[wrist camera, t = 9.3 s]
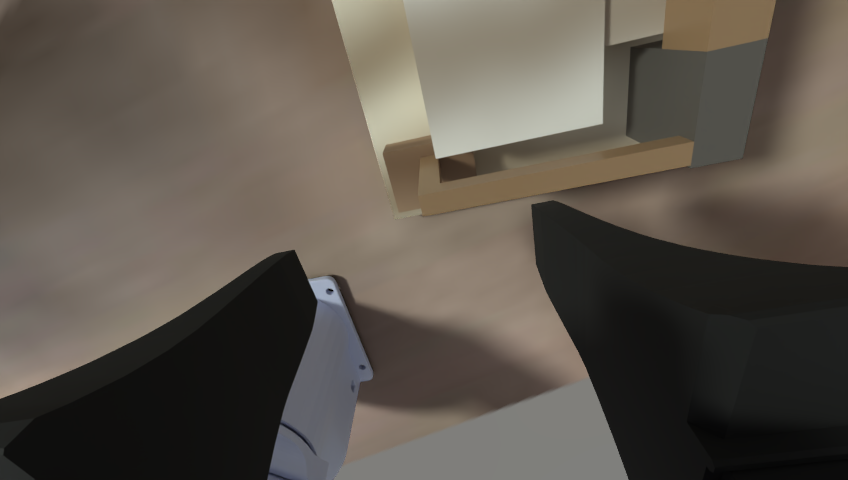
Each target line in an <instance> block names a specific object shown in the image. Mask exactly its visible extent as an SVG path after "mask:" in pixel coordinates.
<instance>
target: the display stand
mask: <svg viewBox="0 0 848 480" xmlns="http://www.w3.org/2000/svg"><path fill="white" fill-rule="evenodd" d="M332 3H333V6H334V10H335V13H336V17H337V20H338V24H339V27H340V31H341V34H342V38H343V41H344V45H345V48H346V52H347V55H348V59H349V62H350V66H351V69H352V73H353V76H354V80H355V83H356V87H357V90H358V94H359V97H360V101H361V104H362V108H363V111H364V115H365V118H366V122H367V125H368V129H369V132H370V136H371V139H372V143H373V146H374V150H375V153H376V157H377V160H378V164H379V167H380V170H381V174H382V177H383V181H384V184H385V188H386V191H387V195H388V198H389V202H390V205H391V209H392V212H393V216H394V219H400V218H405V217H411V216H416V215H421V214H422V211H421V207H420V203H419V199H418V186H419V170H420V158H422V157H427V156H432V155H435V158H436V159H439V164H440V169H441V177H442V183H444V182H449V181H454V180H459V179H464V178H469V177H474V176H479V175H484V174H489V173H494V172H499V171H504V170H509V169H514V168H519V167H524V166H529V165H534V164H539V163H544V162H549V161H554V160H559V159H564V158H569V157H574V156H579V155H584V154H589V153H594V152H599V151H604V150H609V149H614V148H619V147H624V146H629V145H634V144H639V142H637V141H635V140H633V139H631V138H629V137H627V136H626V123H627V104H628V85H629V66H630V47H633V46H638V45H642V44H646V43H651V42H655V41H660V40H663V31H664V20H665V9H666V0H332Z"/></svg>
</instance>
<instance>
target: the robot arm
mask: <svg viewBox="0 0 848 480" xmlns="http://www.w3.org/2000/svg"><path fill="white" fill-rule="evenodd" d="M531 207H532V219H533V231H534V244H535V256H536V265H537V268H538V271H539V273H540V276H541V279H542V282H543V284H544V287H545V290H546V292H547V294H548V296H549V298H550V300H551V302H552V304H553V306H554V307H555V309H556V311H557V313H558V315H559V317H560V319H561V321H562V322H563V324H564V326H565V328H566V330H567V332H568V334H569V335H570V337H571V339H572V341H573V343H574V345H575V347H576V348H577V350H578V352H579V354H580V356H581V358H582V361H583V363H584V365H585V367H586V369H587V372H588V374H589V377H590V379H591V382H592V384H593V387H594V389H595V391H596V394H597V396H598V399H599V401H600V404H601V406H602V409H603V412H604V414H605V417H606V420H607V422H608V424H609V427H610V430H611V433H612V435H613V438H614V440H615V443H616V446H617V449H618V451H619V454H620V457H621V459H622V462H623V465H624V468H625V470H626V473H627V476H628V479H629V480H848V267H835V266H819V265H807V264H797V263H788V262H779V261H770V260H762V259H755V258H748V257H741V256H734V255H728V254H723V253H717V252H712V251H706V250H701V249H696V248H691V247H686V246H682V245H678V244H674V243H670V242H666V241H662V240H659V239H655V238H651V237H648V236H644V235H641V234H638V233H635V232H632V231H629V230H626V229H624V228H621V227H618V226H615V225H613V224H610V223H607V222H605V221H602V220H600V219H597V218H595V217H593V216H590V215H588V214H585V213H583V212H581V211H579V210H576V209H574V208H572V207H569V206H567V205H565V204H562V203H560V202H557V201H548V202H542V203H537V204H532V205H531ZM328 288H329V289H333V291H329V290H328ZM362 365H364V366H362ZM372 378H373V370H372V368H371V365H370V363H369V360H368V358H367V356H366V353H365V351H364V348H363V346H362V343H361V341H360V338H359V336H358V334H357V331H356V329H355V326H354V324H353V321H352V319H351V317H350V314H349V312H348V309H347V307H346V304H345V302H344V299H343V297H342V295H341V292H340V290H339V287H338V285H337V282H336V280H335V279H334V278H333V277H331V276H323V277H318V278H312V279H307V276H306V274H305V272H304V270H303V268H302V265H301V263H300V261H299V259H298V257H297V254H296V252H295V250H291V251H286V252H280V253H276V254H274V255H272V256H270V257H268V258H266V259H264V260H263V261H261V262H259V263H258V264H256V265H255V266H253V267H252V268H250V269H249V270H247V271H246V272H244V273H243V274H241V275H240V276H239V277H237V278H236V279H234V280H233V281H231V282H230V283H228V284H227V285H226V286H224V287H223V288H221V289H220V290H218V291H217V292H215V293H214V294H212V295H211V296H209V297H208V298H206V299H205V300H203V301H201V302H200V303H198V304H197V305H195V306H194V307H192V308H191V309H189V310H188V311H186V312H184V313H183V314H181V315H180V316H178V317H176V318H175V319H173V320H171V321H170V322H168V323H166V324H164V325H163V326H161V327H159V328H157V329H155V330H154V331H152V332H150V333H148V334H146V335H144V336H143V337H141V338H139V339H137V340H135V341H133V342H131V343H129V344H127V345H125V346H123V347H121V348H119V349H117V350H115V351H112V352H110V353H108V354H106V355H104V356H102V357H100V358H98V359H96V360H94V361H92V362H90V363H87V364H85V365H83V366H81V367H78V368H76V369H74V370H72V371H69V372H67V373H65V374H62V375H60V376H57V377H55V378H53V379H50V380H48V381H45V382H43V383H41V384H38V385H36V386H33V387H31V388H28V389H25V390H23V391H20V392H18V393H15V394H12V395H10V396H7V397H4V398H1V399H0V480H334V478H335V477H336V475H337V474H338V472H339V470H340V468H341V467H342V465H343V462H344V460H345V457H346V453H347V448H348V443H349V438H350V433H351V428H352V423H353V417H354V412H355V407H356V402H357V397H358V392H359V387H360V382H363V381H369V380H371V379H372Z"/></svg>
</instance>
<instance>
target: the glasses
mask: <svg viewBox="0 0 848 480" xmlns="http://www.w3.org/2000/svg"><path fill="white" fill-rule="evenodd" d="M775 3H776V0H666V9H665V20H664V31H663V40H660V41H655V42H651V43H646V44H642V45H638V46H633V47H630V66H629V85H628V104H627V123H626V136H627V137H629V138H631V139H633V140H635V141H637V142H639V144H634V145H629V146H624V147H619V148H614V149H609V150H604V151H599V152H594V153H589V154H584V155H579V156H574V157H569V158H564V159H559V160H554V161H549V162H544V163H539V164H534V165H529V166H524V167H519V168H514V169H509V170H504V171H499V172H494V173H489V174H484V175H479V176H474V177H469V178H464V179H459V180H454V181H449V182H444V183H442V177H441V169H440V164H439V159H436V158H435V155H432V156H427V157H422V158H420V170H419V186H418V199H419V203H420V207H421V211H422V215H423V216H428V215H434V214H439V213H444V212H449V211H455V210H460V209H465V208H470V207H476V206H481V205H486V204H491V203H497V202H502V201H507V200H512V199H518V198H523V197H528V196H533V195H539V194H544V193H549V192H554V191H560V190H565V189H570V188H575V187H581V186H586V185H591V184H596V183H602V182H607V181H612V180H617V179H623V178H628V177H633V176H638V175H644V174H649V173H654V172H659V171H665V170H670V169H675V168H680V167H685V166H687V167H689V168H695V167H700V166H706V165H711V164H716V163H721V162H727V161H732V160H737V159H742V158H743V154H744V149H745V144H746V140H747V135H748V130H749V125H750V121H751V116H752V111H753V107H754V102H755V97H756V93H757V88H758V83H759V78H760V74H761V69H762V64H763V60H764V55H765V50H766V46H767V41H768V36H769V31H770V27H771V22H772V17H773V13H774V8H775Z"/></svg>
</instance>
